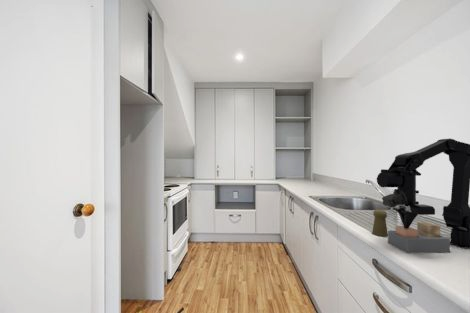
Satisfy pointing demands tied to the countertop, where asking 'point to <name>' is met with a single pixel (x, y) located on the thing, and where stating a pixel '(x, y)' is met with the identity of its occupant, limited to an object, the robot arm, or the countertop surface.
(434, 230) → the oak key
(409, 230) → the terracotta key
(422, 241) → the grey socket block
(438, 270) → the countertop surface
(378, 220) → the olive brown cylinder
